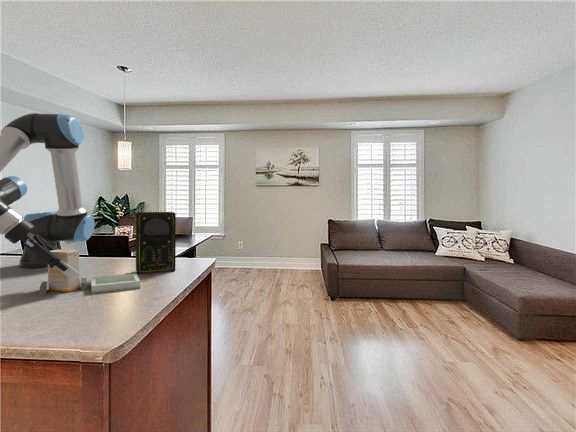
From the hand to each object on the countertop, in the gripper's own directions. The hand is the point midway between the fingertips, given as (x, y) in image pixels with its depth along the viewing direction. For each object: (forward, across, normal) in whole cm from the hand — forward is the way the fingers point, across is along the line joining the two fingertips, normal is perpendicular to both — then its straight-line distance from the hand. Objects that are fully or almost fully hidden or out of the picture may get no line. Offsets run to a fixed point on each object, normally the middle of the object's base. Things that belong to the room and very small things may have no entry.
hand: (75, 272), depth 112 cm
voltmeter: (+24, -15, +16) cm, 32 cm away
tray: (+12, +3, +5) cm, 13 cm away
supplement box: (+2, 0, -6) cm, 6 cm away
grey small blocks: (+2, 0, -6) cm, 6 cm away
